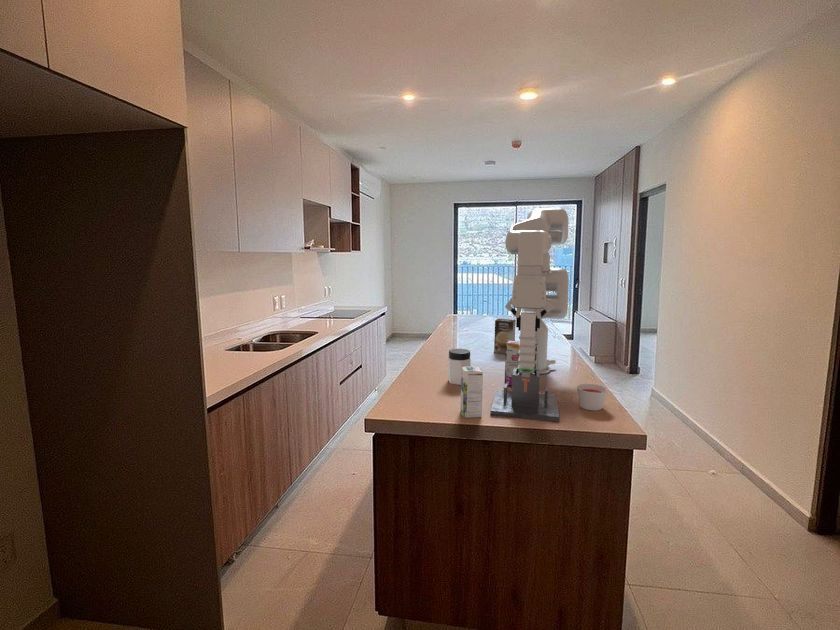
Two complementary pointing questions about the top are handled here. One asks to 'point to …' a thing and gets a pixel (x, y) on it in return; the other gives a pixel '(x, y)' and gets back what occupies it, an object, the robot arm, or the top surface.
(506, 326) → the coffee box
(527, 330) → the column
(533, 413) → the stand base
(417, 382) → the top surface
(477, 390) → the syrup box
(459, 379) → the jar
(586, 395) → the candle
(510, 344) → the candy bar box
